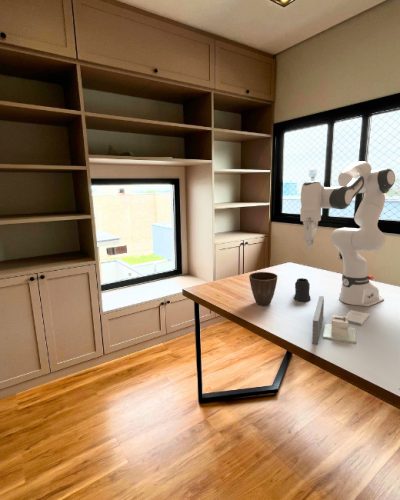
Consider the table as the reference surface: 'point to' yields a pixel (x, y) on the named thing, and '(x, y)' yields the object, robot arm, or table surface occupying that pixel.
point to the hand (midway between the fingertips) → (310, 246)
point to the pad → (349, 338)
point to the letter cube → (339, 325)
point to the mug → (302, 290)
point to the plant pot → (263, 287)
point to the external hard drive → (356, 317)
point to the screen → (318, 320)
